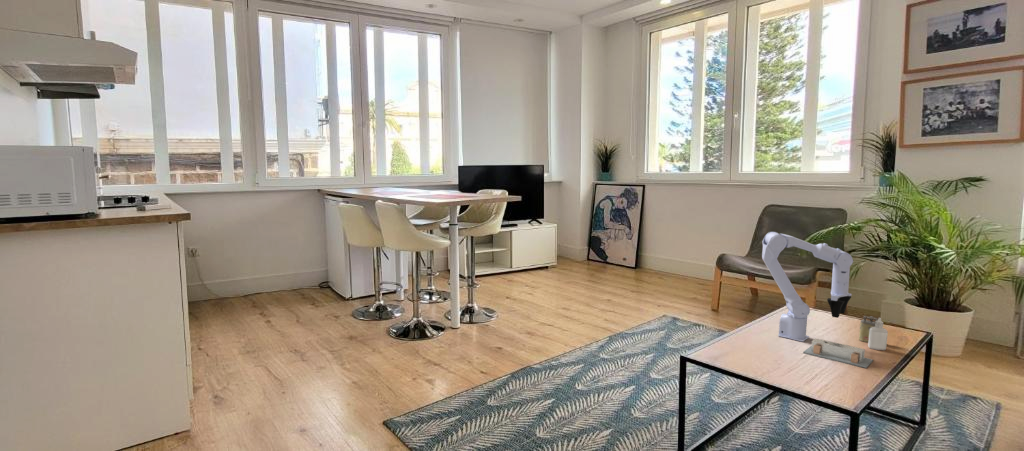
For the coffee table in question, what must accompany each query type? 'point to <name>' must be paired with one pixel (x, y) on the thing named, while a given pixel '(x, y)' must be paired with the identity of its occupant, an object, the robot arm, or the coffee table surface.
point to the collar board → (853, 361)
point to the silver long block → (838, 349)
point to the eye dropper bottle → (878, 336)
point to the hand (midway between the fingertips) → (838, 315)
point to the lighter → (866, 328)
